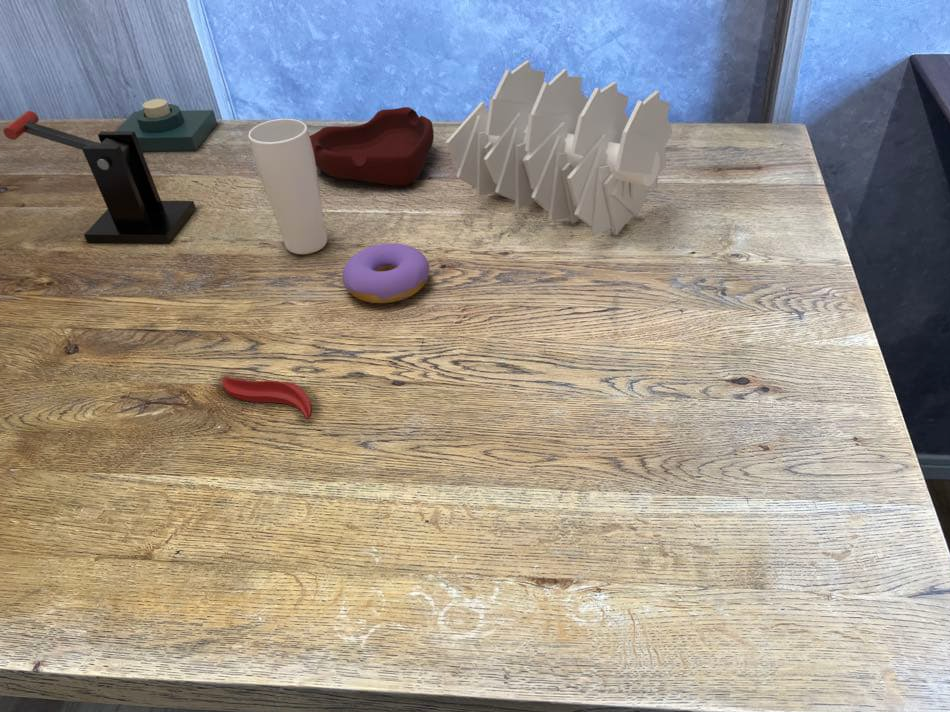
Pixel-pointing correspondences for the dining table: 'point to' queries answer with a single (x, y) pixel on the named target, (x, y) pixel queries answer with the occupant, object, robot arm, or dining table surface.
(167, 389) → the dining table surface
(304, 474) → the dining table surface
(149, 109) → the button
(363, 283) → the donut
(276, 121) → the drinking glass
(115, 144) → the lever
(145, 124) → the control block
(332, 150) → the ashtray
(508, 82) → the spiral staircase
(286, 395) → the cayenne pepper
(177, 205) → the bracket
